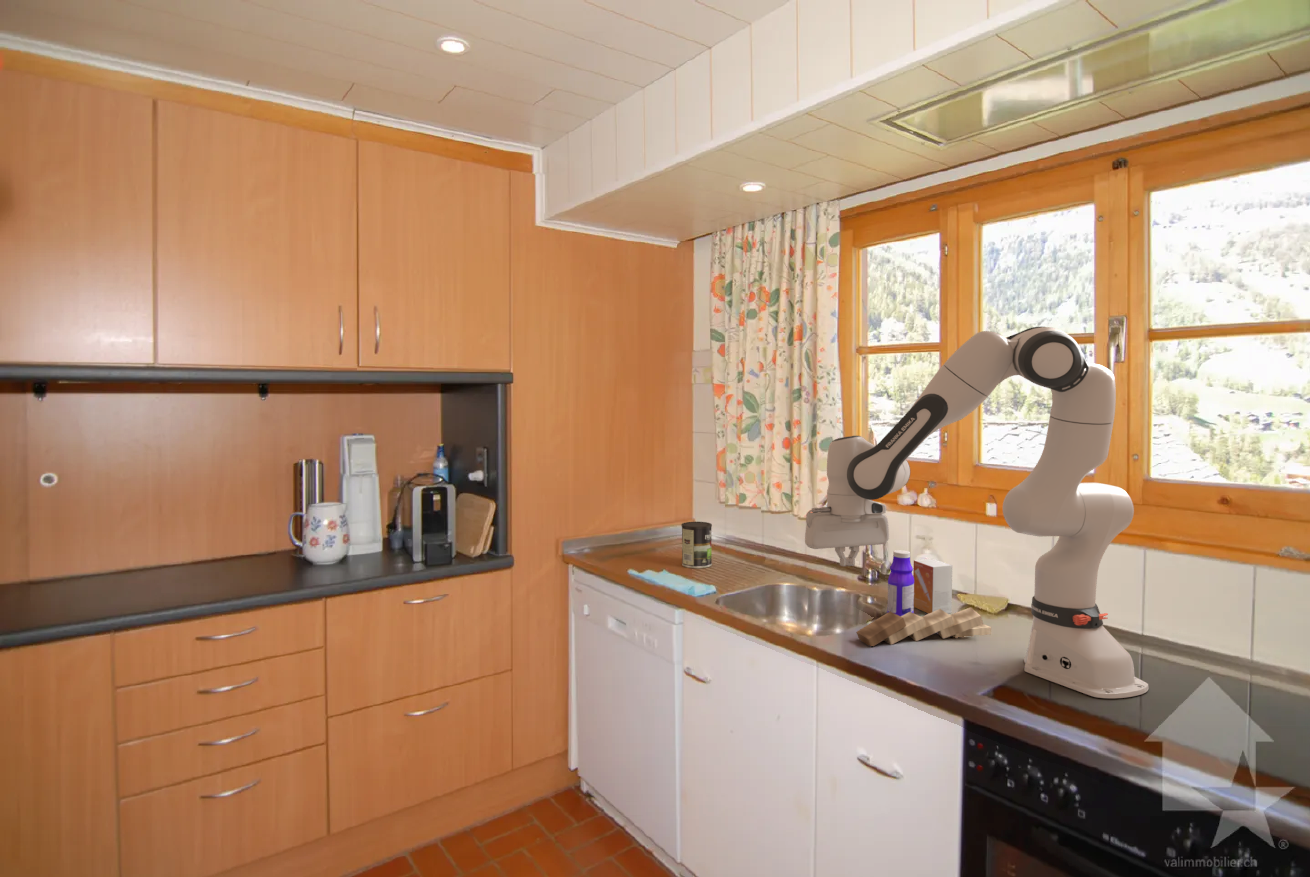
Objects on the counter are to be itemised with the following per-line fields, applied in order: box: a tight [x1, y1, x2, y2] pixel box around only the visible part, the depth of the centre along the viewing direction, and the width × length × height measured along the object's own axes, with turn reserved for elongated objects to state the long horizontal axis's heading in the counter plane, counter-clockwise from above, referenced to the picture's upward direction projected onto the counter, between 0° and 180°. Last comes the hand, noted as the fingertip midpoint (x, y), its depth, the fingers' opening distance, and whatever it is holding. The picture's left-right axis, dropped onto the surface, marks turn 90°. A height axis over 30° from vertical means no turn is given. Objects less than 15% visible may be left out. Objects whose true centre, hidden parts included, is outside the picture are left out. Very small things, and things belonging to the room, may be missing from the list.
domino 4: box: [936, 607, 984, 639], centre depth 165 cm, size 5×2×10 cm
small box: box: [912, 558, 953, 615], centre depth 185 cm, size 8×6×13 cm
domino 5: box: [951, 623, 992, 639], centre depth 168 cm, size 5×2×10 cm
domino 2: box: [883, 612, 926, 645], centre depth 163 cm, size 5×2×10 cm
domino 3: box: [909, 609, 954, 642], centre depth 165 cm, size 5×2×10 cm
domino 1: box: [855, 612, 906, 647], centre depth 162 cm, size 5×2×10 cm
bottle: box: [886, 549, 915, 616], centre depth 178 cm, size 7×6×17 cm
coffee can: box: [681, 521, 713, 569], centre depth 236 cm, size 10×10×14 cm
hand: (847, 565), depth 161 cm, fingers closed
